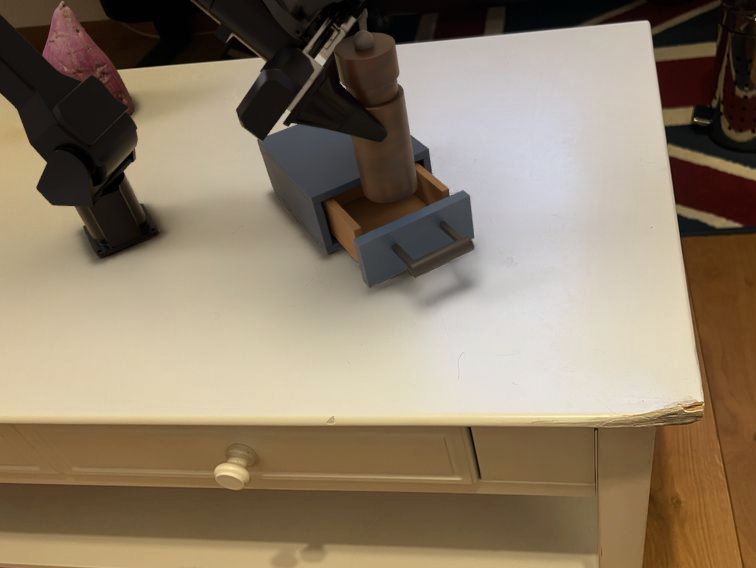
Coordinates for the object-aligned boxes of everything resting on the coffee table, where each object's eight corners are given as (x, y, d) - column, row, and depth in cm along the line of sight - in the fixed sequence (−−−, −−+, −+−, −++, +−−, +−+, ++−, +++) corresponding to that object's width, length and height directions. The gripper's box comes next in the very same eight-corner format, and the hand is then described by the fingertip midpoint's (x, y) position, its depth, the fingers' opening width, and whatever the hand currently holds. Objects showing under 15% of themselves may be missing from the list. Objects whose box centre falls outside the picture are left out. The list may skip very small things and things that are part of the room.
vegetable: (113, 113, 103) (80, -4, 96) (153, 120, 98) (122, -4, 90) (38, 129, 96) (-4, 4, 89) (78, 138, 91) (37, 5, 83)
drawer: (501, 261, 66) (498, 218, 63) (393, 315, 63) (383, 272, 59) (409, 181, 77) (402, 141, 73) (312, 223, 73) (299, 183, 70)
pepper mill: (387, 210, 63) (356, 51, 53) (351, 189, 66) (316, 34, 56) (429, 185, 66) (407, 27, 56) (393, 166, 68) (366, 12, 58)
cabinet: (437, 205, 75) (429, 148, 70) (327, 254, 71) (311, 198, 66) (375, 152, 83) (364, 98, 79) (274, 193, 79) (256, 139, 74)
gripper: (225, -57, 44) (425, 117, 50) (324, -141, 56) (475, 6, 62) (158, 69, 51) (340, 207, 57) (259, -30, 63) (400, 92, 69)
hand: (393, 121), depth 61 cm, fingers closed on pepper mill, 5 cm apart
